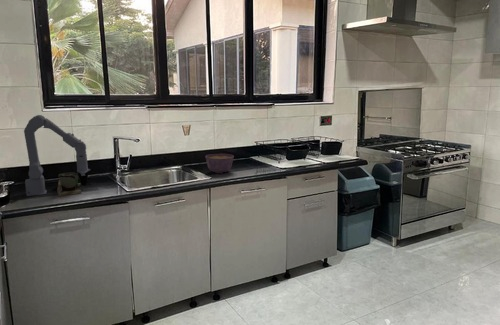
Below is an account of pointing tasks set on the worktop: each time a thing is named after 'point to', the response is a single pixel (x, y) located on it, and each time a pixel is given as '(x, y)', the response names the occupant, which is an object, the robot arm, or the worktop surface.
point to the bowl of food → (219, 162)
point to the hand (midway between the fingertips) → (84, 185)
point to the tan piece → (67, 191)
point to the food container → (69, 181)
